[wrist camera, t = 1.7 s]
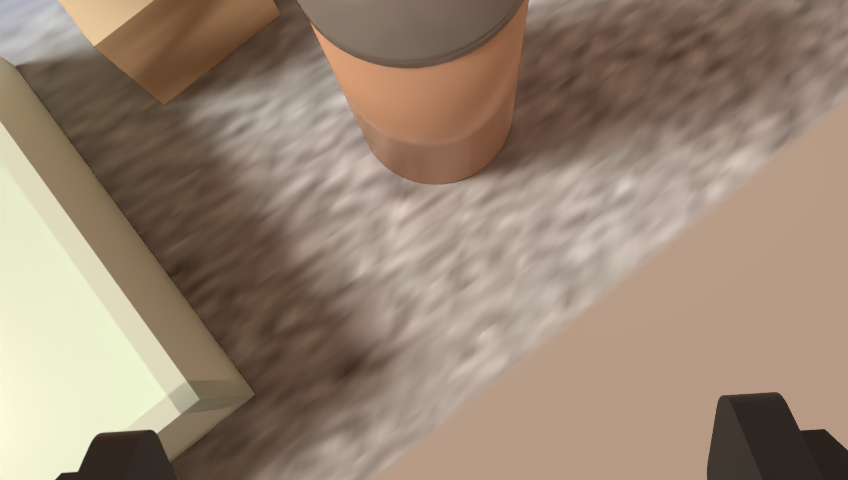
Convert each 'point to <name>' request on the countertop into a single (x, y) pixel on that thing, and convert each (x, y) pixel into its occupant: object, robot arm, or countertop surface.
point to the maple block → (169, 36)
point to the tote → (88, 313)
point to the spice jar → (426, 78)
